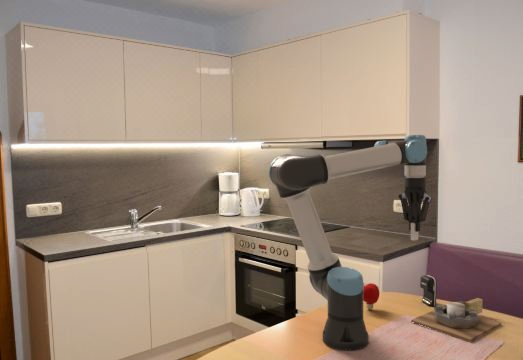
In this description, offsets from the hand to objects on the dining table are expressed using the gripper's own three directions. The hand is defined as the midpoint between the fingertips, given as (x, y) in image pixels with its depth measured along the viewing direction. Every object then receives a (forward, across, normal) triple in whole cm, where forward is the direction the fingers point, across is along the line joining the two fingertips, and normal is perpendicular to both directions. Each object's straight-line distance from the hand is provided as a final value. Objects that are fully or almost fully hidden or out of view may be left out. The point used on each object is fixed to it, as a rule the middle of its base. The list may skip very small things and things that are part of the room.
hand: (414, 239), depth 169 cm
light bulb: (+30, +15, +7) cm, 34 cm away
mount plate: (+29, -14, -5) cm, 33 cm away
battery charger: (+30, +4, -16) cm, 34 cm away
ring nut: (+28, -14, -9) cm, 33 cm away
